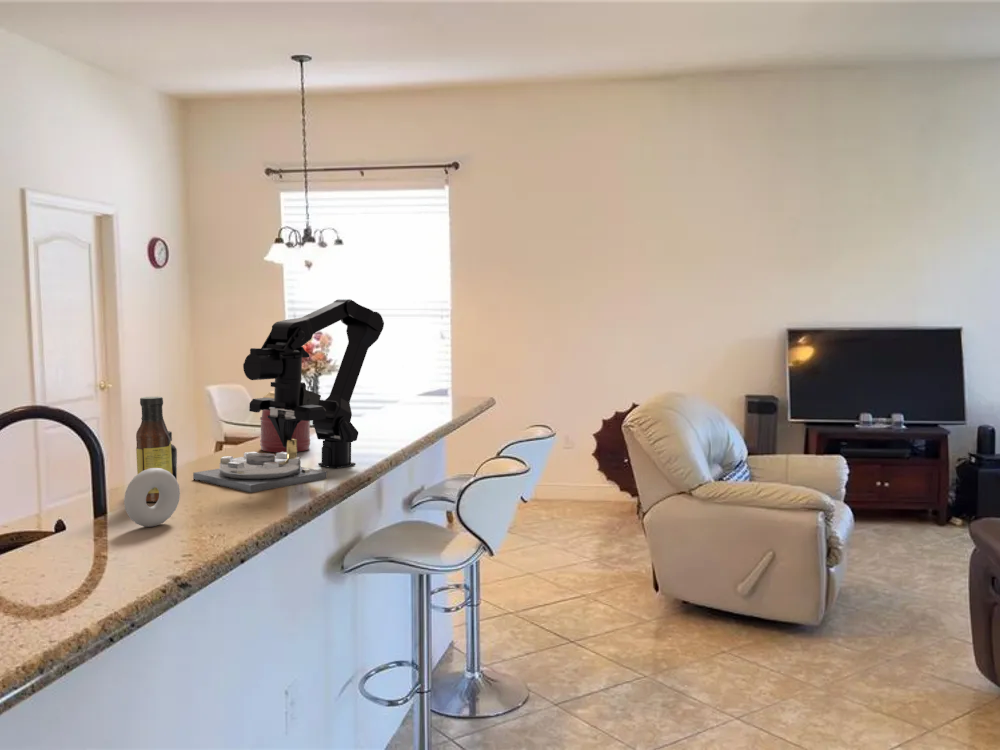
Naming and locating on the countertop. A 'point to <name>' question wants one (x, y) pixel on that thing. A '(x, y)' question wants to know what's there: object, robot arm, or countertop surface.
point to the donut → (139, 491)
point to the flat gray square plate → (259, 480)
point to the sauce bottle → (153, 441)
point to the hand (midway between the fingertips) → (285, 447)
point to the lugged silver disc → (262, 464)
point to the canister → (271, 437)
